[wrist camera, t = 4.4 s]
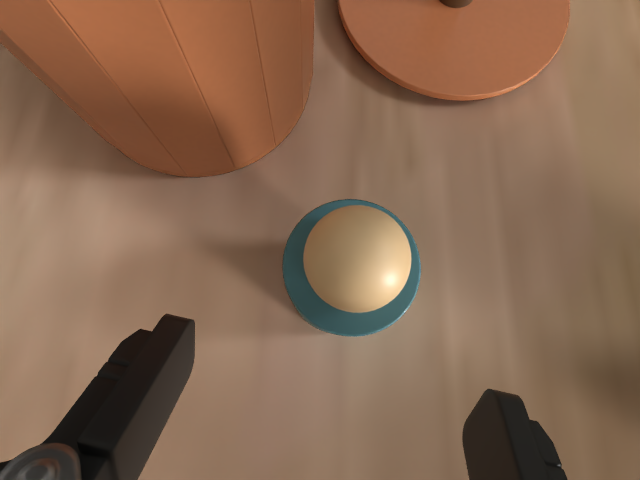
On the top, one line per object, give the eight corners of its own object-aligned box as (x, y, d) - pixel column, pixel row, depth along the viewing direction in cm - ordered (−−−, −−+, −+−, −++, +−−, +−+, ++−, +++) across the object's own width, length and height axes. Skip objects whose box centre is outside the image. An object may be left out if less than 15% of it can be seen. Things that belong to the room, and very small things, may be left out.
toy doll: (389, 252, 20) (463, 185, 11) (372, 342, 19) (437, 357, 10) (302, 233, 20) (298, 149, 11) (281, 321, 19) (255, 315, 10)
